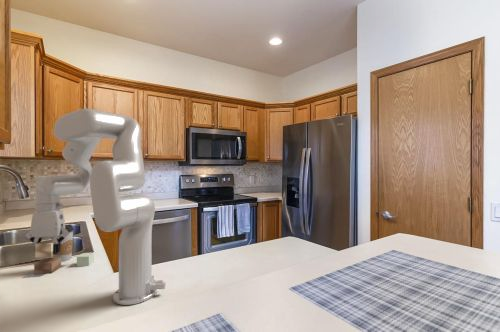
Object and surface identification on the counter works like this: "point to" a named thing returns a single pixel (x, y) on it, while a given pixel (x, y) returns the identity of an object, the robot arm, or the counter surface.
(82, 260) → the sage block
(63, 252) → the coffee cup
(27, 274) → the flat square pad
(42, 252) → the maple block
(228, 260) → the counter surface
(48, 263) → the walnut block
